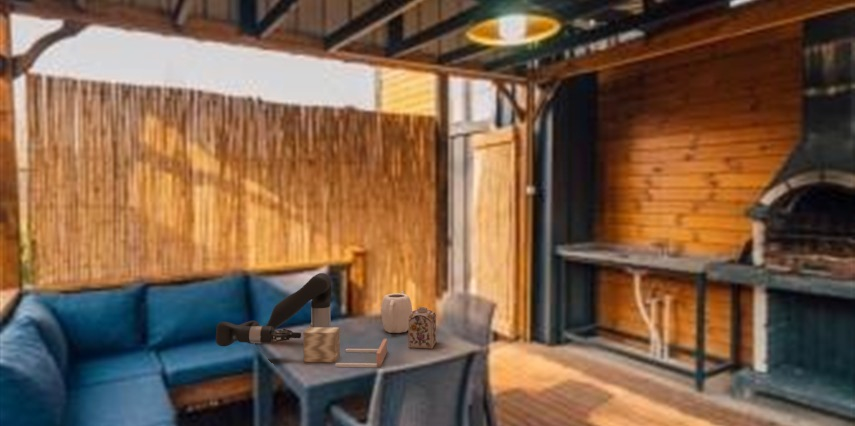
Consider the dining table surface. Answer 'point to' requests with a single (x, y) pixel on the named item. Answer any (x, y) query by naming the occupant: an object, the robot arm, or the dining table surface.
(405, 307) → the beige pitcher
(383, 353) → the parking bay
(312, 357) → the wooden block
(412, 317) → the decorative jar
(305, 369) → the dining table surface
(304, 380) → the dining table surface
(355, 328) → the dining table surface
